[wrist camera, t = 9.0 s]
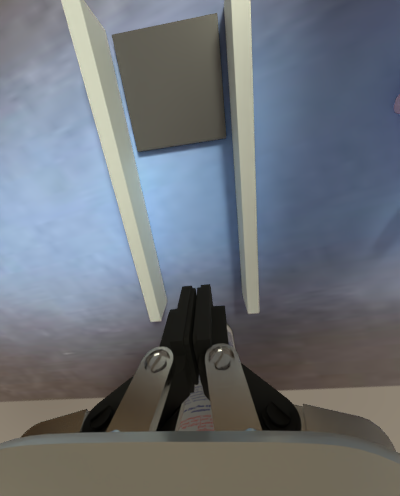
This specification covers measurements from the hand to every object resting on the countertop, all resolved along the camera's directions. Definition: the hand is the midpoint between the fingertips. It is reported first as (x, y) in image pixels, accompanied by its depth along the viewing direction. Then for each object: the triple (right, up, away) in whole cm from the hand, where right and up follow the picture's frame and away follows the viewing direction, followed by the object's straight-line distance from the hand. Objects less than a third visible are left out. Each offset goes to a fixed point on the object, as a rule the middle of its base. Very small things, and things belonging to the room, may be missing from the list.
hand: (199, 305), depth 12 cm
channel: (-1, +8, +5) cm, 10 cm away
